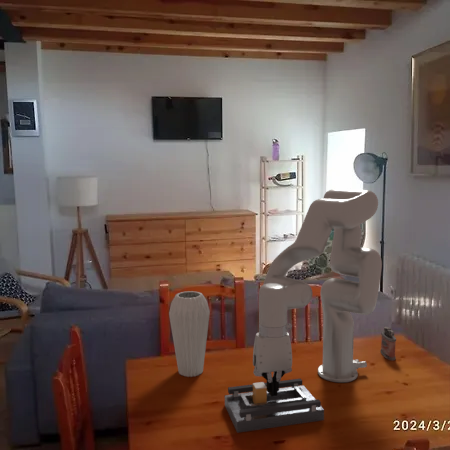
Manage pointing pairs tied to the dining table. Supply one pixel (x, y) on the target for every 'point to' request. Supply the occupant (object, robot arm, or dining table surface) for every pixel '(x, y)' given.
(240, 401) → the panel
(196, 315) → the vase
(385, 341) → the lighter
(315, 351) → the dining table surface
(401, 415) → the dining table surface
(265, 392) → the block
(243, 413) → the pair of grey rails
